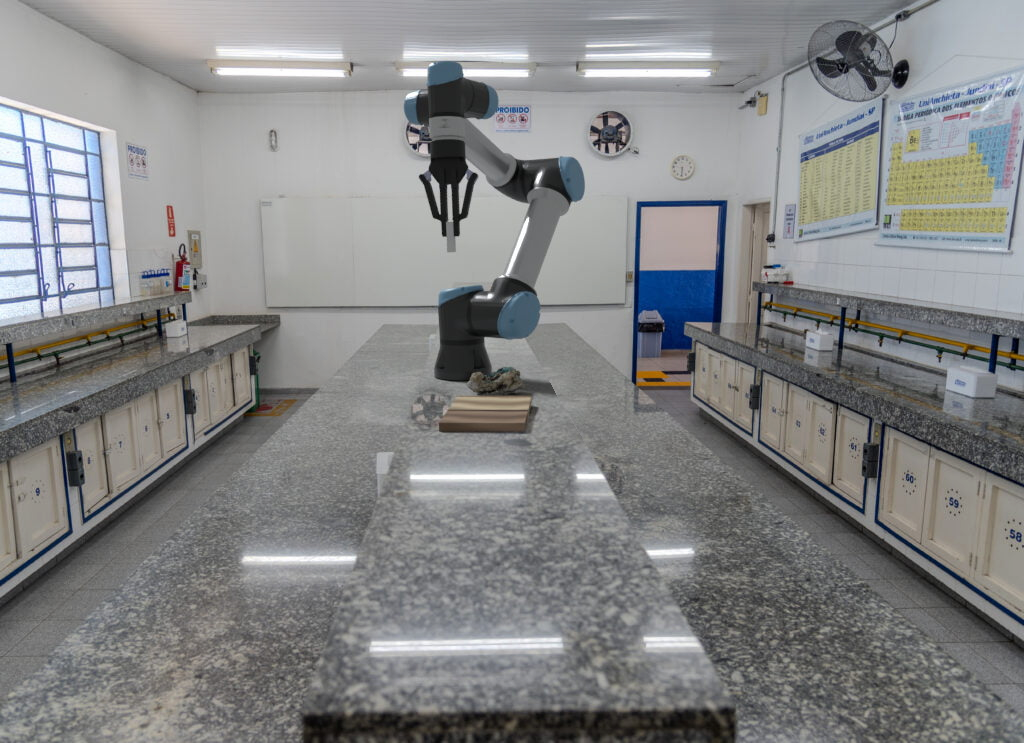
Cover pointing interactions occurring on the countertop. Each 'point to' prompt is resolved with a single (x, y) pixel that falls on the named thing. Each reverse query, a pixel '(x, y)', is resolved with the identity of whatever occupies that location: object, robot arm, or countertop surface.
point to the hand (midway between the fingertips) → (451, 252)
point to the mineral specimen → (496, 381)
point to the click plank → (492, 403)
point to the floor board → (484, 420)
